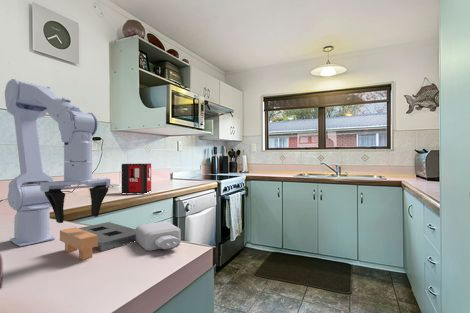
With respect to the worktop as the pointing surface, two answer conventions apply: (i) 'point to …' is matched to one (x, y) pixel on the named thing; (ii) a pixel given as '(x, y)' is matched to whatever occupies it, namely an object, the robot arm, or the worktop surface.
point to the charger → (158, 235)
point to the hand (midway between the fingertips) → (78, 219)
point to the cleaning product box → (136, 178)
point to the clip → (79, 241)
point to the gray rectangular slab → (111, 235)
